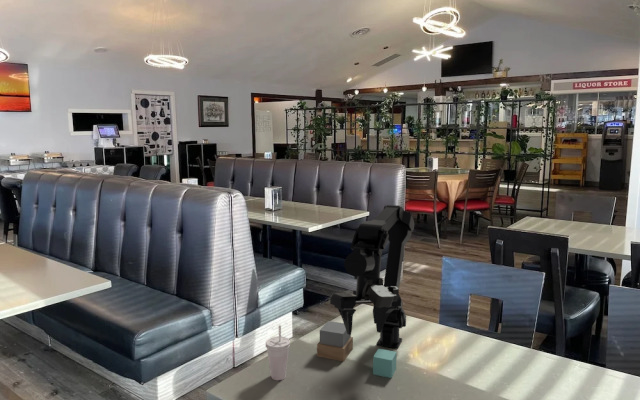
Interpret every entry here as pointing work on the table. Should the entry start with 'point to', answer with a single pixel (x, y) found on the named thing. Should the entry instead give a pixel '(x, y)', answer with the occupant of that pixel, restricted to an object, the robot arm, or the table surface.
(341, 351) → the tower base
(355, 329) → the table surface
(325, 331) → the tower top
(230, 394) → the table surface
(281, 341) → the smoothie
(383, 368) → the teal cube
